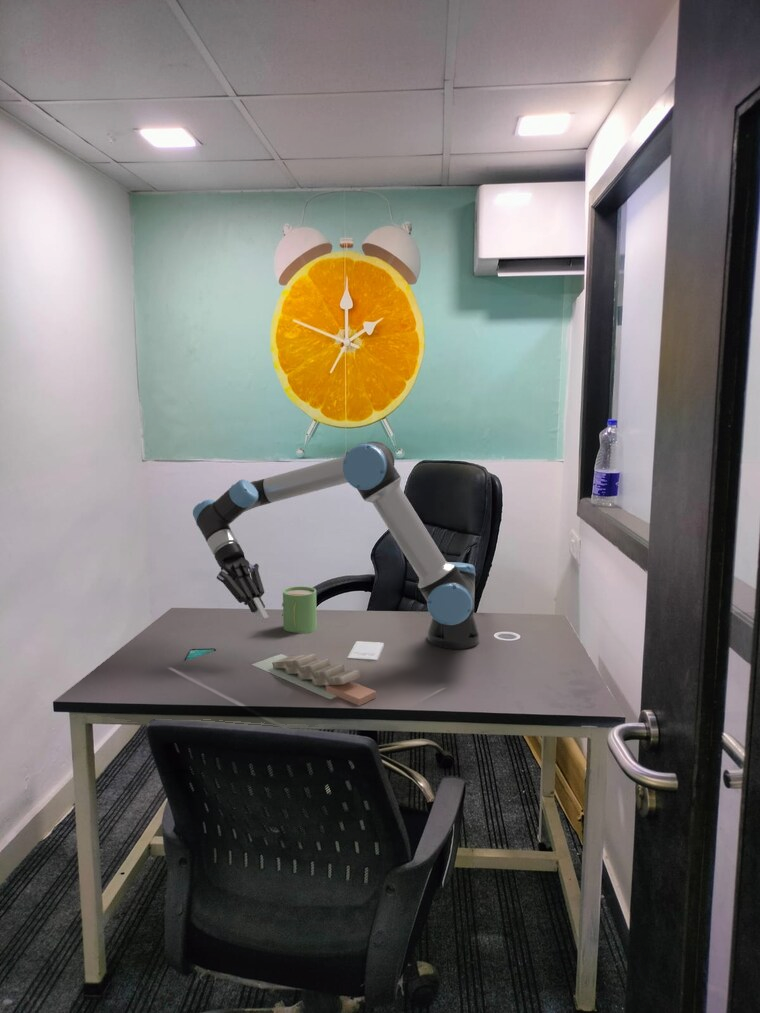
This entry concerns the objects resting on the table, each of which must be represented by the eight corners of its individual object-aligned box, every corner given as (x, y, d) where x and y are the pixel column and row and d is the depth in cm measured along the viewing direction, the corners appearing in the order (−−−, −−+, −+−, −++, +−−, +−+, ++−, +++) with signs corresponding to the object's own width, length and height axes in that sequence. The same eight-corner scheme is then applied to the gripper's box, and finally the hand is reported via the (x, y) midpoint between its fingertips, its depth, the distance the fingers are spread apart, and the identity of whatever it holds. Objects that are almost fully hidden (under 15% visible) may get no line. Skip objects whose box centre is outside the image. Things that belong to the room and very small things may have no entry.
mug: (287, 622, 204) (287, 585, 202) (319, 624, 202) (319, 587, 200) (275, 636, 191) (275, 597, 189) (310, 638, 190) (309, 598, 188)
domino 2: (284, 667, 163) (312, 665, 155) (301, 661, 167) (329, 659, 159) (286, 674, 163) (313, 672, 155) (302, 667, 167) (330, 665, 159)
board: (251, 666, 169) (251, 664, 169) (281, 655, 176) (281, 653, 176) (330, 701, 149) (330, 699, 149) (360, 688, 156) (360, 685, 156)
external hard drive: (383, 648, 184) (376, 664, 172) (355, 646, 185) (346, 662, 173) (384, 642, 184) (376, 659, 172) (355, 640, 185) (346, 657, 173)
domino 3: (297, 673, 159) (326, 671, 152) (314, 666, 163) (343, 664, 156) (299, 679, 159) (327, 678, 152) (316, 673, 163) (344, 671, 156)
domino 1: (272, 662, 166) (298, 660, 159) (288, 656, 170) (315, 654, 163) (273, 668, 166) (299, 666, 158) (290, 662, 170) (316, 660, 163)
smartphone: (178, 670, 165) (190, 648, 180) (178, 673, 165) (190, 651, 180) (206, 669, 166) (216, 648, 180) (207, 672, 166) (216, 650, 181)
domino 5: (325, 684, 153) (359, 699, 145) (342, 677, 157) (376, 691, 149) (325, 691, 153) (359, 705, 145) (342, 684, 157) (375, 697, 150)
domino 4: (311, 679, 156) (341, 677, 148) (328, 672, 160) (358, 670, 153) (313, 685, 156) (343, 684, 148) (329, 678, 160) (360, 676, 152)
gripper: (240, 553, 186) (277, 622, 178) (200, 561, 177) (238, 633, 168) (250, 538, 182) (289, 607, 174) (211, 545, 172) (250, 618, 164)
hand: (264, 620), depth 171 cm, fingers closed
